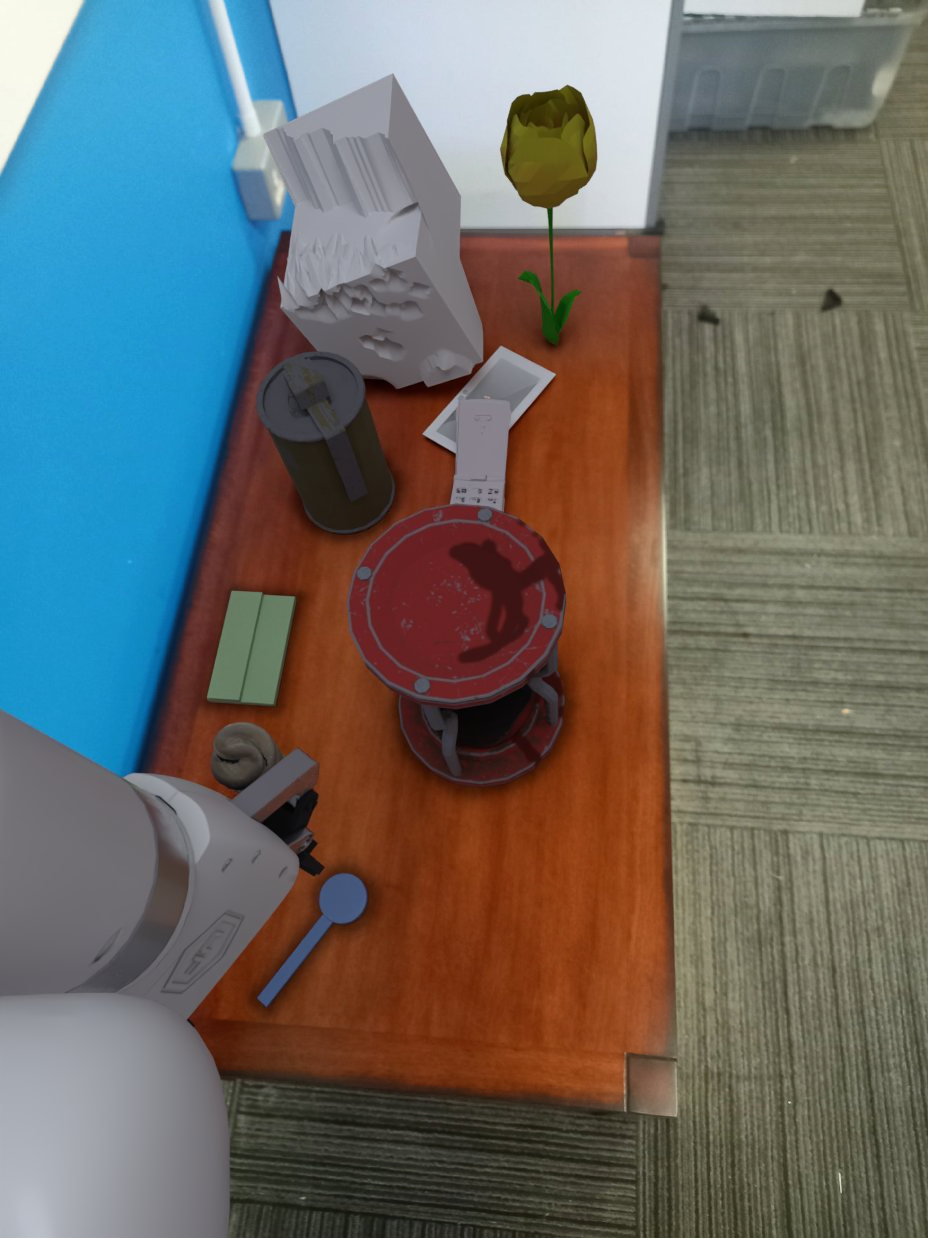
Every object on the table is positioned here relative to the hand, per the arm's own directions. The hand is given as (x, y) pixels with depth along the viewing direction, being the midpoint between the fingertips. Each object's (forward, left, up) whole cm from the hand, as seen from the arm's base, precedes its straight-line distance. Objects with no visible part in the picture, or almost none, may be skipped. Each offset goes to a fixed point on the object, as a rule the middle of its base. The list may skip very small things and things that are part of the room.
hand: (237, 931), depth 45 cm
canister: (+36, +34, -36) cm, 62 cm away
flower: (+66, +28, -36) cm, 80 cm away
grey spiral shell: (+7, +17, -36) cm, 41 cm away
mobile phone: (+41, +20, -36) cm, 58 cm away
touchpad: (+54, +28, -36) cm, 71 cm away
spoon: (-1, +6, -36) cm, 37 cm away
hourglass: (+25, +7, -36) cm, 45 cm away
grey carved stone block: (+56, +44, -36) cm, 80 cm away
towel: (+16, +30, -36) cm, 50 cm away
